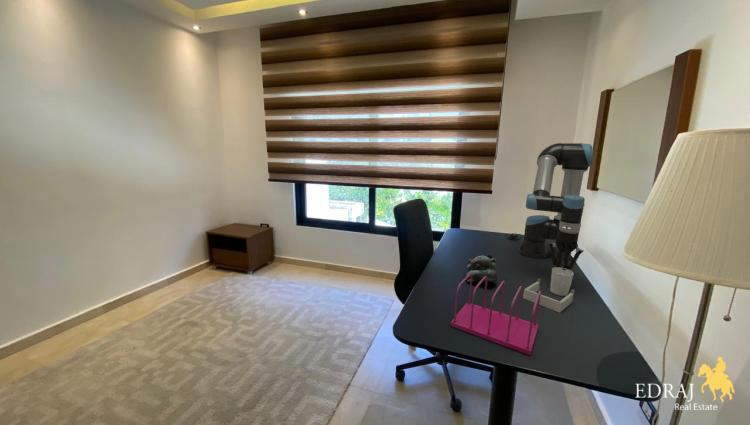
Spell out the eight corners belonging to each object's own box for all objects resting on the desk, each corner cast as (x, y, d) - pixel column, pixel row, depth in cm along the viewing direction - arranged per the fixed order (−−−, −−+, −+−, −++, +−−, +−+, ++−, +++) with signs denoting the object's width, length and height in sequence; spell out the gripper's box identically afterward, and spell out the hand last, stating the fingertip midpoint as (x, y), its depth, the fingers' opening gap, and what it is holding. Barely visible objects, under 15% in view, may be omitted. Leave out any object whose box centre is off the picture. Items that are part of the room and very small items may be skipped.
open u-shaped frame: (537, 289, 132) (538, 278, 131) (572, 302, 122) (574, 290, 120) (522, 298, 124) (524, 286, 123) (559, 312, 113) (562, 300, 112)
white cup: (573, 297, 125) (577, 276, 123) (553, 296, 126) (557, 274, 124) (563, 288, 133) (567, 267, 130) (545, 287, 134) (548, 266, 131)
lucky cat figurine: (459, 281, 138) (460, 251, 142) (472, 284, 146) (472, 256, 150) (491, 282, 127) (491, 250, 131) (502, 285, 135) (502, 255, 139)
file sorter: (530, 356, 89) (537, 309, 85) (450, 326, 103) (453, 284, 100) (538, 329, 103) (544, 287, 99) (466, 305, 117) (470, 268, 113)
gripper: (548, 229, 131) (541, 278, 136) (583, 236, 121) (573, 289, 126) (555, 226, 135) (547, 274, 140) (589, 233, 125) (579, 284, 131)
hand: (560, 281), depth 133 cm, fingers closed
